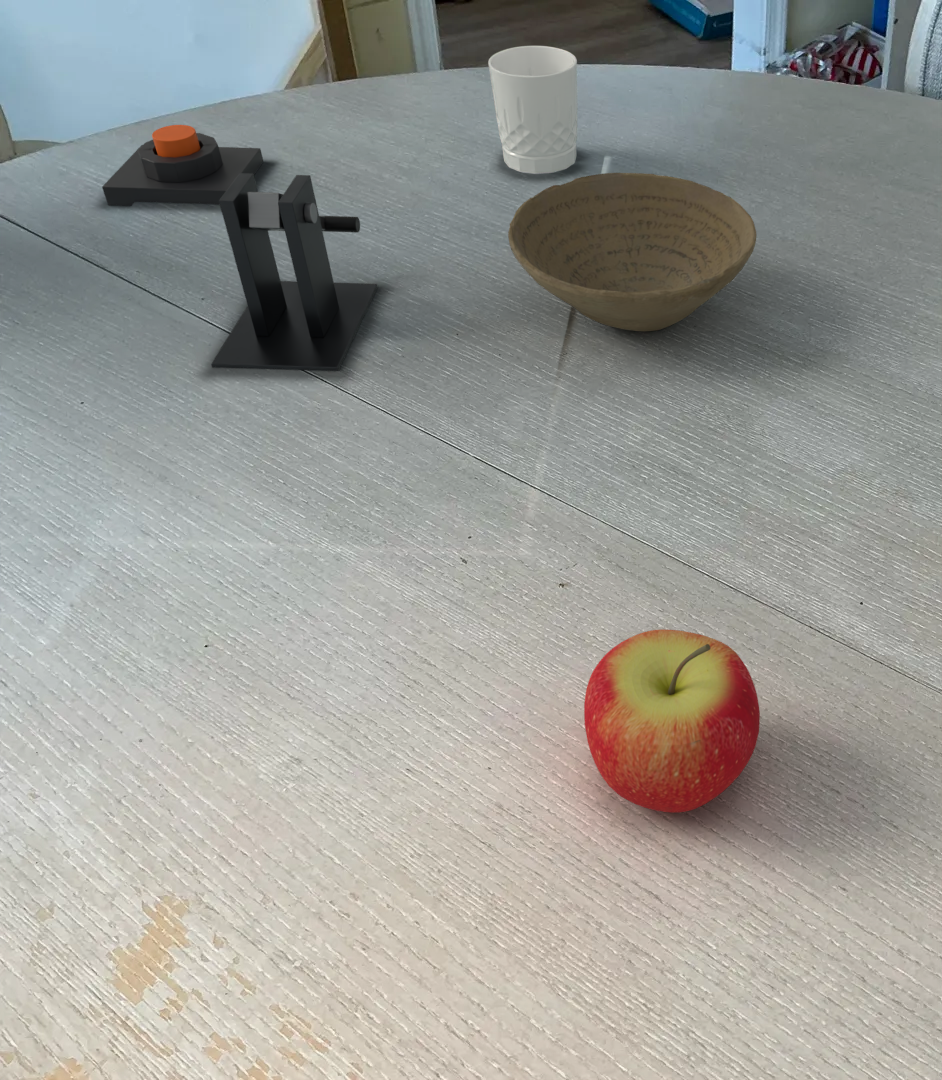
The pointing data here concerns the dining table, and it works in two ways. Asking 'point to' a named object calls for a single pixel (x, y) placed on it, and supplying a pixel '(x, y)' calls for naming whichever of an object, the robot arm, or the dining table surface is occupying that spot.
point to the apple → (671, 719)
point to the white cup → (536, 107)
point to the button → (175, 141)
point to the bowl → (632, 246)
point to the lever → (269, 218)
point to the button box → (180, 174)
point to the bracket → (288, 289)
